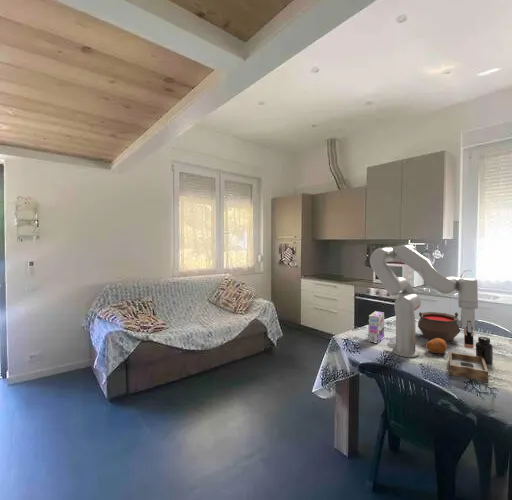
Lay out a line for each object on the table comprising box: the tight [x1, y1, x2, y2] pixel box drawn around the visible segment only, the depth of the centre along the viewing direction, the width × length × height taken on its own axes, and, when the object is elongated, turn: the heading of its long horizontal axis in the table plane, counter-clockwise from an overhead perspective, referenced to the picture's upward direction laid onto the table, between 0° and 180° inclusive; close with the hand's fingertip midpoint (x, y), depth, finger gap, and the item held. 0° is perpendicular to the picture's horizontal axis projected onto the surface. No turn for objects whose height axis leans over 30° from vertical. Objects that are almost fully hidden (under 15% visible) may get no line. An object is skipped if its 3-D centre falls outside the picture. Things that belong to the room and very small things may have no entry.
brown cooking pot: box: [417, 311, 461, 343], centre depth 187 cm, size 24×24×16 cm
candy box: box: [367, 310, 385, 344], centre depth 186 cm, size 14×6×16 cm, turn 143°
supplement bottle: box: [475, 336, 494, 365], centre depth 152 cm, size 7×7×12 cm
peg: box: [463, 328, 475, 349], centre depth 143 cm, size 4×4×11 cm
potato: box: [425, 338, 448, 354], centre depth 165 cm, size 9×11×8 cm
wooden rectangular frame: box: [448, 351, 489, 382], centre depth 143 cm, size 14×18×4 cm
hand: (468, 342), depth 144 cm, fingers closed on peg, 3 cm apart
